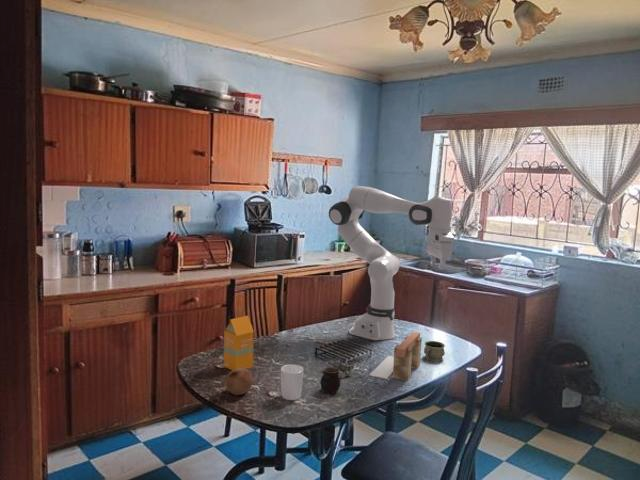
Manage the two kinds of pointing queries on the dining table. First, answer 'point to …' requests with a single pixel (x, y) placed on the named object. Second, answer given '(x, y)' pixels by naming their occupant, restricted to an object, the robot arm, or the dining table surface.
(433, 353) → the vessel
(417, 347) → the post far
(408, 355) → the post near
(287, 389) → the white cup
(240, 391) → the onion
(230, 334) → the orange juice
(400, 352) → the rail
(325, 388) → the mate gourd
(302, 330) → the dining table surface
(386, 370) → the mat
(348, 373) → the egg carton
